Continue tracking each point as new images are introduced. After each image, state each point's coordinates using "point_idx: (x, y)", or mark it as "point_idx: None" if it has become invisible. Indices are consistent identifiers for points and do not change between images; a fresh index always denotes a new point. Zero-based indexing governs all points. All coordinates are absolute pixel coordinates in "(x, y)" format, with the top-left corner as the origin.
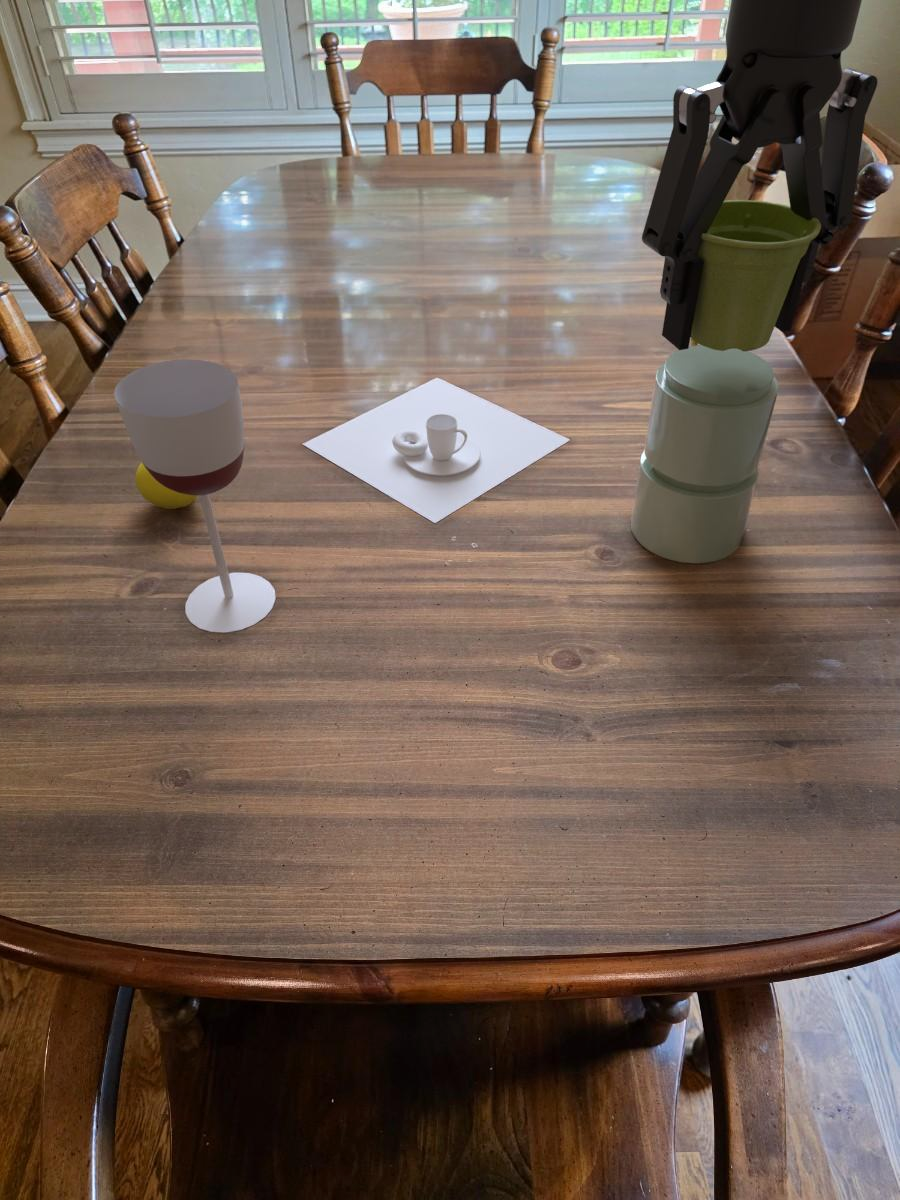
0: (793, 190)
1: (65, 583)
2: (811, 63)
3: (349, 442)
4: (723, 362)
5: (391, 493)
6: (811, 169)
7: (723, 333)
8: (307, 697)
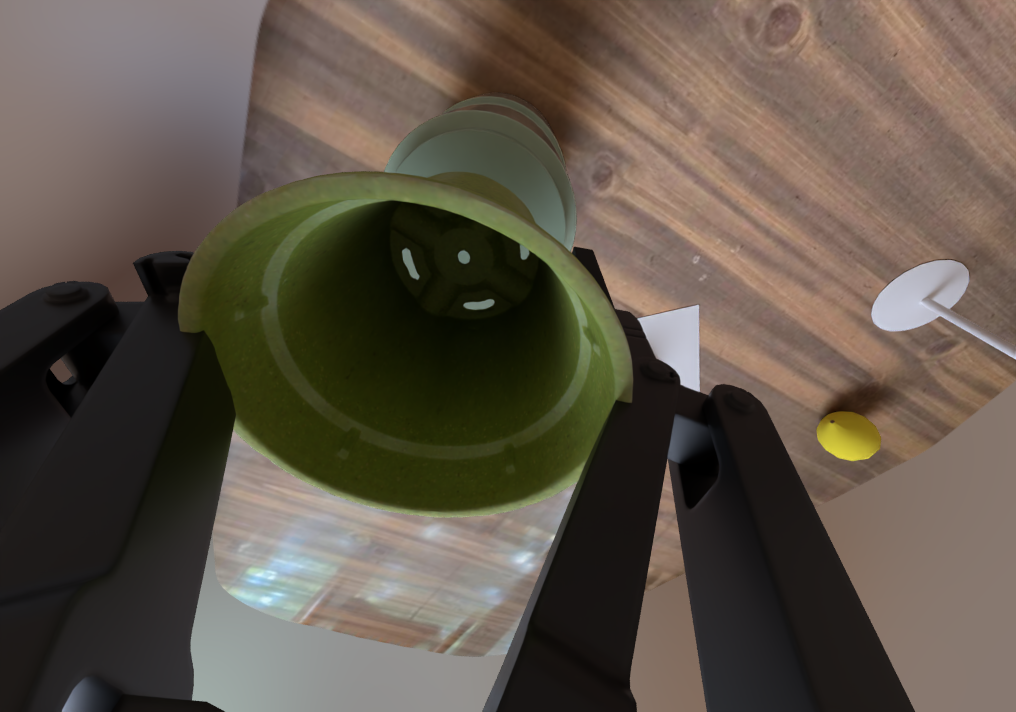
0: (212, 454)
1: (974, 376)
2: None
3: None
4: None
5: (694, 356)
6: (95, 492)
7: (531, 216)
8: (1011, 136)
